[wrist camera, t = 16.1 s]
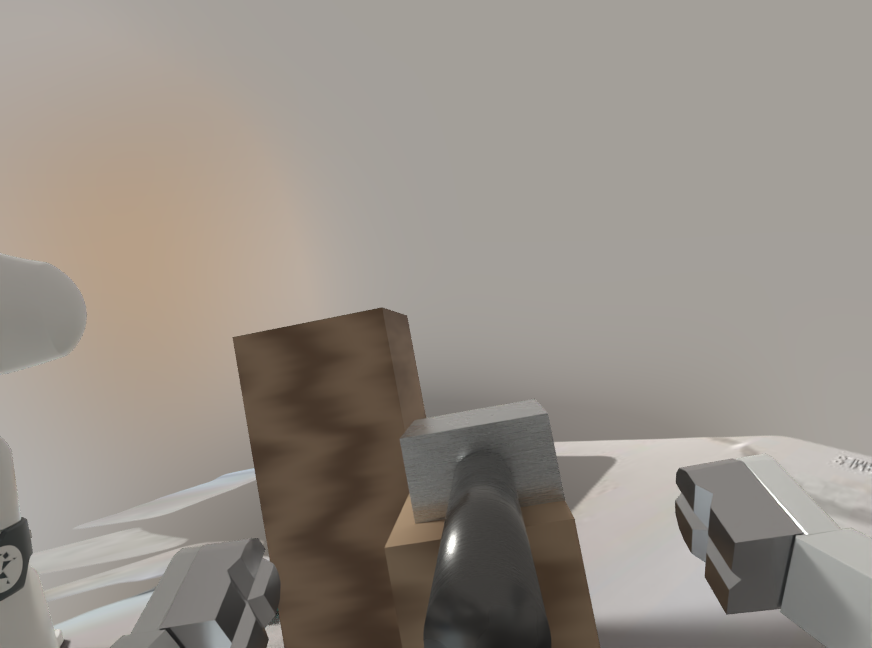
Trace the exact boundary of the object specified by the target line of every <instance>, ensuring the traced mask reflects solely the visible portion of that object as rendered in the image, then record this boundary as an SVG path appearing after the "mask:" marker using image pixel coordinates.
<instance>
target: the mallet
mask: <svg viewBox="0 0 872 648" xmlns="http://www.w3.org/2000/svg"><path fill="white" fill-rule="evenodd" d="M400 444H401V449H402V455H403V460H404V466H405V471H406V477H407V482H408V488H409V493H410V498H411V504H412V509H413V515H414V520H415V524H417V523H423V522H429V521H436V520H442V519H445V521H444V527H443V532H442V537H441V542H440V547H439V552H438V557H437V562H436V567H435V572H434V578H433V583H432V588H431V593H430V598H429V603H428V608H427V613H426V618H425V624H424V631H423V641H424V648H551V633H550V628H549V624H548V620H547V616H546V611H545V607H544V603H543V599H542V595H541V590H540V586H539V582H538V578H537V574H536V570H535V565H534V561H533V557H532V553H531V549H530V545H529V540H528V536H527V532H526V528H525V524H524V519H523V515H522V511H521V507H526V506H532V505H538V504H545V503H551V502H558V501H564V500H565V497H564V492H563V487H562V482H561V477H560V472H559V467H558V462H557V457H556V452H555V447H554V442H553V437H552V432H551V427H550V422H549V417H548V413H547V412H546V411H545V410H544V408H543V407H542V406H541V405H540V404H539V403H538V402H537V401H536V400H535V399H532V400H526V401H521V402H515V403H509V404H504V405H498V406H492V407H486V408H481V409H475V410H469V411H464V412H458V413H453V414H447V415H441V416H435V417H430V418H424V419H418V420H414V421H413V423H412V424H411V425H410V426H409V428H408V429H407V430H406V431H405V433H404V434H403V435H402V436H401V438H400Z"/></svg>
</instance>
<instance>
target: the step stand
mask: <svg viewBox="0 0 872 648" xmlns="http://www.w3.org/2000/svg"><path fill="white" fill-rule="evenodd" d="M233 342H234V348H235V354H236V360H237V366H238V372H239V378H240V384H241V390H242V396H243V402H244V408H245V414H246V420H247V426H248V432H249V438H250V444H251V450H252V456H253V462H254V468H255V474H256V480H257V486H258V492H259V498H260V504H261V510H262V515H263V522H264V528H265V534H266V539H267V546H268V552H269V558H270V562H271V563H273V564H274V565H275V567H276V569H277V571H278V573H279V578H280V582H281V588H280V601H279V605H278V612H279V618H280V624H281V630H282V636H283V641H284V647H285V648H424V641H423V631H424V624H425V618H426V613H427V608H428V603H429V598H430V593H431V588H432V583H433V578H434V572H435V567H436V562H437V557H438V552H439V547H440V542H441V537H442V532H443V527H444V521H445V519H442V520H436V521H429V522H423V523H417V524H415V520H414V515H413V509H412V504H411V498H410V493H409V488H408V482H407V477H406V471H405V466H404V460H403V455H402V449H401V444H400V438H401V436H402V435H403V434H404V433H405V431H406V430H407V429H408V428H409V426H410V425H411V424H412V423H413V421H414V420H418V419H424V418H426V415H425V410H424V404H423V399H422V393H421V388H420V383H419V377H418V372H417V367H416V361H415V356H414V350H413V345H412V340H411V334H410V329H409V324H408V318H407V315H403V314H400V313H397V312H394V311H391V310H388V309H385V308H377V309H372V310H368V311H363V312H357V313H352V314H347V315H342V316H337V317H333V318H327V319H323V320H317V321H312V322H307V323H302V324H297V325H292V326H287V327H282V328H277V329H272V330H267V331H262V332H257V333H252V334H247V335H242V336H237V337H233ZM521 511H522V515H523V519H524V524H525V528H526V532H527V536H528V540H529V545H530V549H531V553H532V557H533V561H534V565H535V570H536V574H537V578H538V582H539V586H540V590H541V595H542V599H543V603H544V607H545V611H546V616H547V620H548V624H549V628H550V633H551V648H600V644H599V639H598V634H597V629H596V624H595V619H594V614H593V609H592V604H591V599H590V594H589V589H588V584H587V579H586V574H585V569H584V564H583V559H582V554H581V549H580V544H579V539H578V534H577V529H576V524H575V519H574V517H573V515H572V513H571V511H570V509H569V508H568V506H567V504H566V502H565V500H564V501H558V502H551V503H545V504H538V505H532V506H526V507H521Z"/></svg>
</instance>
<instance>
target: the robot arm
mask: <svg viewBox="0 0 872 648" xmlns="http://www.w3.org/2000/svg"><path fill="white" fill-rule="evenodd" d="M86 317H87V312H86V306H85V302H84V299H83V297H82V294H81V292H80V291H79V289H78V288H77V286H76V285H75V283H73V281H72V280H71V279H70V278H69V277H68V276H67V275H66V274H64V273H63V272H62V271H61V270H59V269H58V268H57V267H55V266H53V265H51V264H49V263H47V262H40V261H34V260H28V259H23V258H17V257H13V256H9V255H5V254H1V253H0V375H1V374H8V373H12V372H15V371H19V370H22V369H26V368H29V367H33V366H36V365H39V364H43V363H46V362H49V361H52V360H55V359H58V358H61V357H64V356H67V355H68V354H69V353H70V352H71V351H72V350H73V349H74V348H75V347H76V345H77V344H78V342H79V341H80V339H81V337H82V335H83V332H84V330H85V325H86ZM676 484H677V486H678V487H679V489H680V491H681V492H682V493H681V494H680V496H679V497H678V498H677V499H676V500H675V513H676V517H677V522H678V526H679V529H680V531H681V534H682V536H683V539H684V541H685V543H686V544H687V546H688V548H689V550H690V552H691V553H692V554H693V555H695V556H696V557H698V558H699V559H701V560H702V561H704V562H705V563H706V565H705V578H706V580H707V582H708V583H709V585H710V587H711V589H712V590H713V592H714V594H715V596H716V597H717V599H718V601H719V602H720V604H721V606H722V608H723V609H724V611H725V613H726V615H727V614H737V613H746V612H755V611H765V610H774V609H781V610H780V612H781V613H782V614H784V615H785V616H786V617H788V618H789V619H790V620H792V621H793V622H794V623H795V624H797V625H798V626H799V627H801V628H802V629H803V630H805V631H806V632H807V633H808V634H810V635H811V636H812V637H814V638H815V639H816V640H818V641H819V642H820V643H821V644H823V645H824V646H825V647H827V648H872V538H871V537H869V536H867V535H865V534H863V533H861V532H859V531H857V530H855V529H853V528H845V529H841V528H840V527H839V526H838V525H837V524H836V523H835V522H834V521H833V520H832V519H831V518H830V517H829V516H828V515H827V513H826V512H825V511H824V510H823V509H822V508H821V507H820V506H819V505H818V504H817V503H816V502H815V501H814V500H813V499H812V498H811V497H810V496H809V495H808V494H807V493H806V491H805V490H804V489H803V488H802V487H801V486H800V485H799V484H798V483H797V482H796V481H795V480H794V479H793V478H792V477H791V476H790V475H789V474H788V473H787V472H786V471H785V469H784V468H783V467H782V466H781V465H780V464H779V463H778V462H777V461H776V460H775V459H774V458H773V457H772V456H770V455H768V454H766V453H765V454H759V455H753V456H747V457H741V458H736V459H727V460H722V461H716V462H710V463H705V464H699V465H693V466H687V467H682V468H679V469H678V471H677V473H676ZM31 538H32V535H31V530H29V527H28V522H27V519H25V518H23V517H21V514H20V508H19V500H18V494H17V486H16V479H15V472H14V465H13V457H12V451H11V448H10V447H9V445H8V443H7V442H6V441H5V440H4V439H3V438H2V437H1V436H0V648H60V646H61V644H62V643H63V640H64V638H63V635H62V631H61V630H60V629H55V630H54V627H53V623H52V620H51V616H50V612H49V609H48V605H47V602H46V598H45V595H44V591H43V588H42V585H41V581H40V578H39V574H38V572H37V570H36V569H34V568H33V567H31V566H30V565H29V559H30V556H31V555H32V553H33V552H32V544H31ZM264 552H265V548H264V546H263V545H262V543H261V542H260V540H259V539H258V538H254V539H245V540H237V541H229V542H222V543H214V544H207V545H202V546H195V547H188V548H182V549H181V550H180V551H179V552H177V553H176V554H175V555H174V556H173V558H172V560H171V562H170V564H169V565H168V567H167V569H166V571H165V573H164V574H163V576H162V578H161V580H160V582H159V584H158V585H157V587H156V589H155V591H154V592H153V594H152V596H151V598H150V600H149V601H148V603H147V605H146V607H145V609H144V610H143V612H142V614H141V616H140V618H139V619H138V621H137V623H136V625H135V627H134V629H133V630H132V632H131V634H130V635H124V636H122V637H121V638H120V639H119V640H117V641H116V642H115V643H114V644H113V645H112V646H111V647H110V648H266V647H267V643H268V640H269V639H268V636H267V633H266V631H265V627H266V626H267V625H268V624H269V622H270V621H271V620H272V619H273V618H274V617H275V615H276V612H277V609H278V605H279V601H280V588H281V582H280V578H279V573H278V571H277V569H276V567H275V565H274V564H273V563H271V562H270V561H268V560H266V559H264V558H262V557H263V554H264Z"/></svg>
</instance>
